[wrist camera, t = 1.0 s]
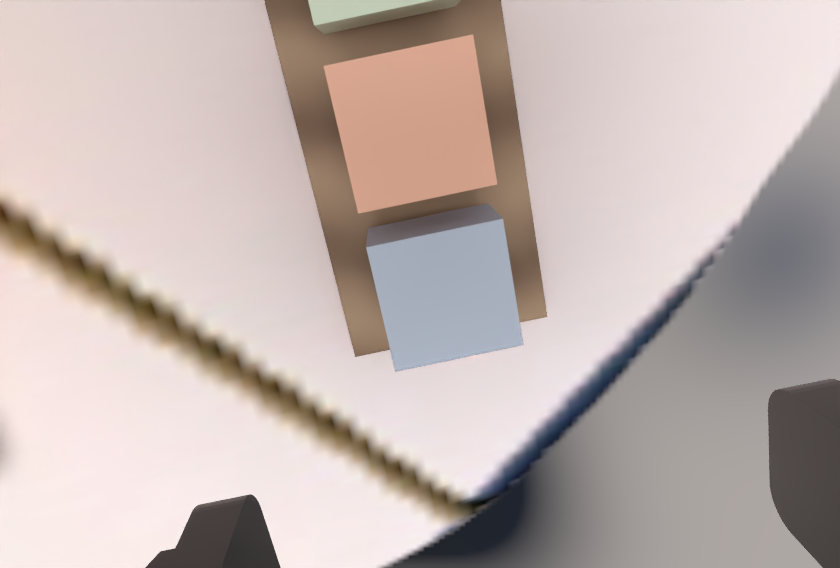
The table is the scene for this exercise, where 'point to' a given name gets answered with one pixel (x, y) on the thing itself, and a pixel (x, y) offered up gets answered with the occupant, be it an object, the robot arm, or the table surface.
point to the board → (348, 230)
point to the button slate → (444, 286)
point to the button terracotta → (412, 123)
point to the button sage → (368, 12)
